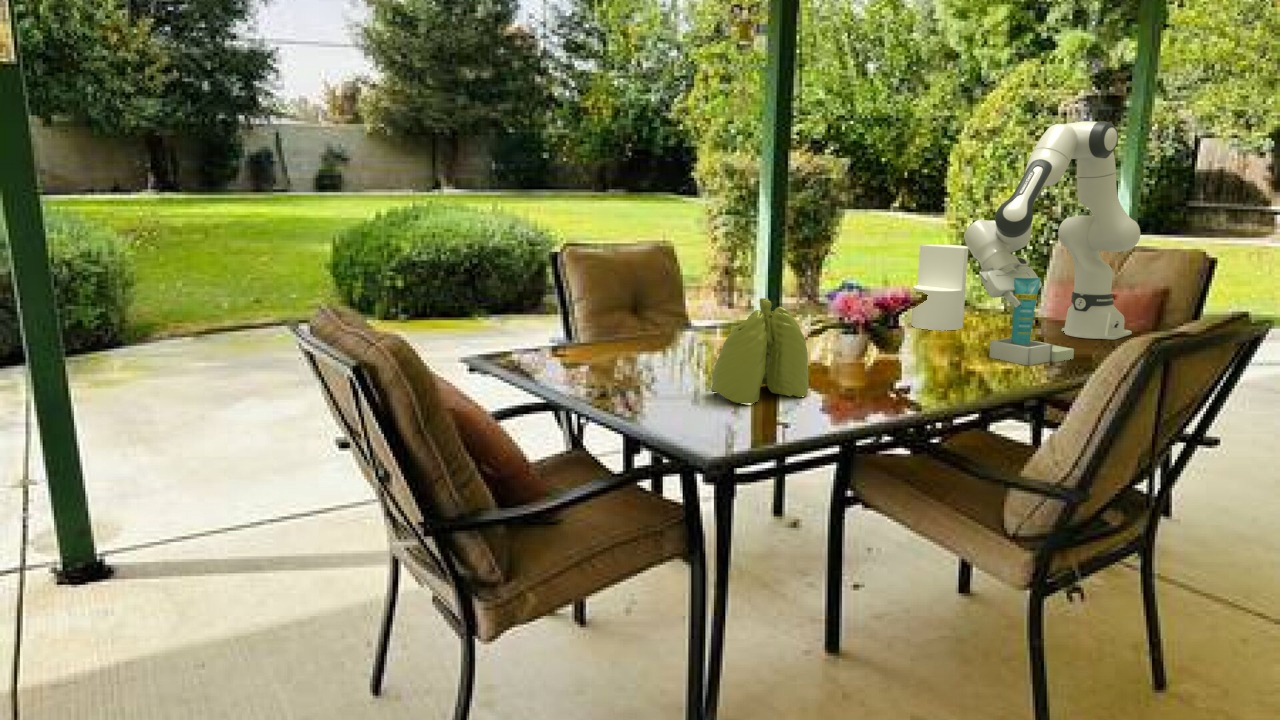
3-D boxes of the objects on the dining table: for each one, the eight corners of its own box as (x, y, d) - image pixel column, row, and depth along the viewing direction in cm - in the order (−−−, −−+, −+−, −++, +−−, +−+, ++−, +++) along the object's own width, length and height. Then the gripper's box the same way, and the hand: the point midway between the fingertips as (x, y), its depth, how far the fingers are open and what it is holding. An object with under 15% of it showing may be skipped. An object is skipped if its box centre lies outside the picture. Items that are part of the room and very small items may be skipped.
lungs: (783, 383, 238) (785, 292, 233) (818, 396, 225) (822, 300, 219) (700, 394, 228) (701, 299, 222) (732, 409, 214) (734, 308, 209)
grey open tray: (1025, 349, 277) (1027, 333, 276) (1073, 359, 264) (1074, 342, 263) (985, 356, 268) (986, 340, 267) (1032, 366, 255) (1033, 349, 254)
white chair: (929, 320, 329) (933, 243, 323) (972, 327, 316) (978, 246, 310) (900, 326, 318) (905, 246, 312) (944, 333, 305) (950, 250, 299)
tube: (1012, 344, 260) (1018, 278, 257) (1004, 341, 265) (1010, 276, 261) (1036, 344, 261) (1044, 278, 257) (1028, 342, 266) (1035, 276, 262)
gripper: (984, 262, 259) (1010, 301, 253) (1030, 259, 269) (1056, 295, 263) (970, 276, 264) (995, 314, 257) (1015, 272, 274) (1041, 308, 268)
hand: (1026, 304), depth 260 cm, fingers closed on tube, 5 cm apart
